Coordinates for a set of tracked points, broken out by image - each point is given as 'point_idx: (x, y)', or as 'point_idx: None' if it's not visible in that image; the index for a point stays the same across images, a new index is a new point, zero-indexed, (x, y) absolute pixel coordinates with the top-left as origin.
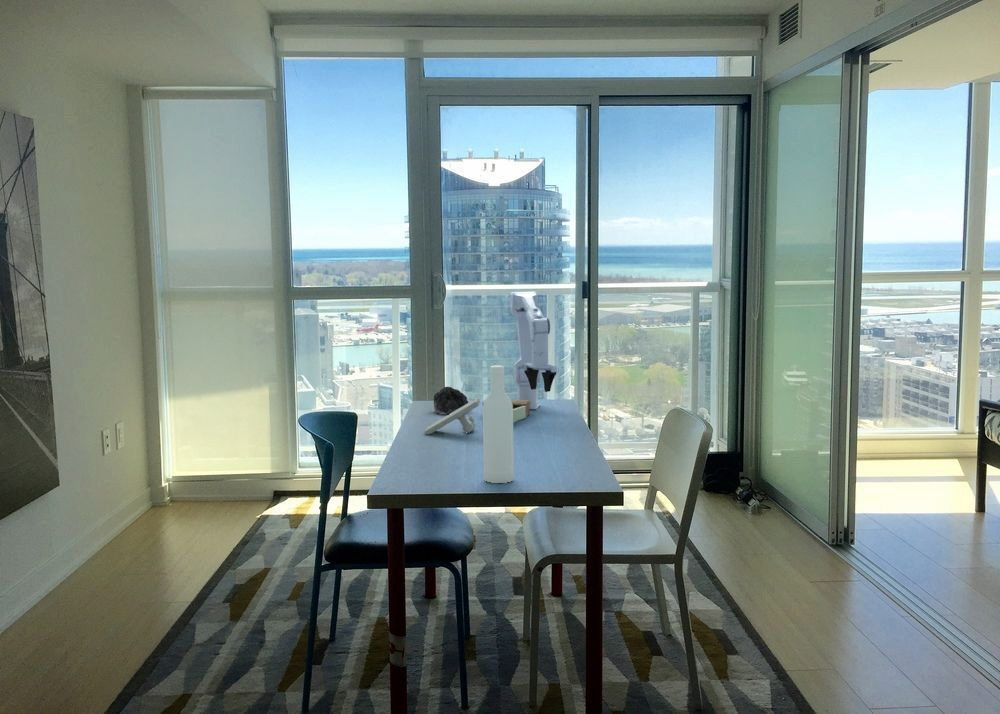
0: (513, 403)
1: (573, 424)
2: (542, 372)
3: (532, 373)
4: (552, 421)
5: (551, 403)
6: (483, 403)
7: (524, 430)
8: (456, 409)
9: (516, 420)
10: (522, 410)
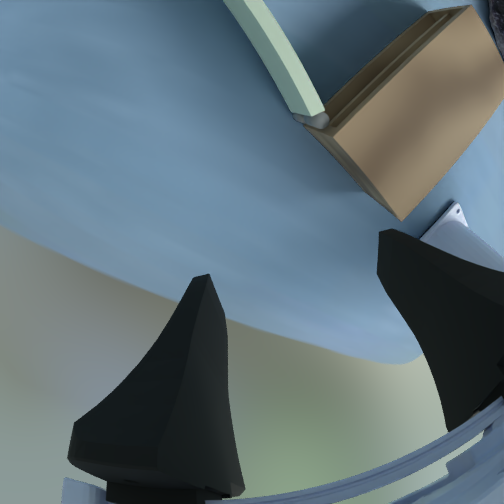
0: (389, 80)
1: (70, 244)
2: (136, 469)
3: (472, 353)
4: (154, 195)
5: None
6: (467, 6)
7: (60, 12)
8: (496, 1)
9: (243, 29)
10: (285, 80)
